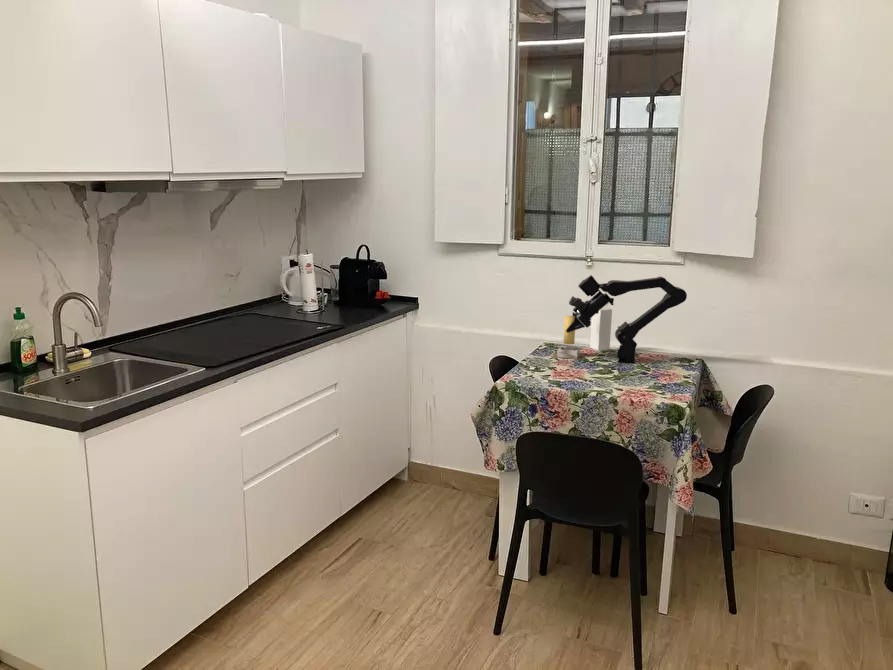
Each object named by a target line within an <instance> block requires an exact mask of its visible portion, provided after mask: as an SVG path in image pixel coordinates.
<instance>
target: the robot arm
mask: <svg viewBox="0 0 893 670" xmlns="http://www.w3.org/2000/svg"><path fill="white" fill-rule="evenodd" d="M578 288H579V289H580V290H581V291H582V292H583V293H584V294H585V295H586V297H591V298H590V299H589V300H586V301H582V299H581V298H579V297H575V296H571V297H570V300H569V301H568V305H570V306H572V307H573V308H572V315H571V316H574V321H573V322H572V323H571V325H570V326H569V327H568V328H567V330H566V332H567V333H568V332H571V331H574V330H575V331H577V330H580V329H583V328H587V329H588V328H589V327H590V326H591V323H592V317H593V316H594V315H595V314H598V313H599V312H598V311H599V310H601V309H602V308H603V307H604V306H605V305H606V304H607V303H608V304H609V305H611V306H614V301H615V298H614V297H618V296H621V295H624V294H626V293H629V292H633V291H634V292H635V291H641V290H650V289H658V288H661V290H663V291H664V292H665V294H664V295H663V296H662V299H661V300H660V301H659V302H657V303H656V304H655V305H653V306H652V307H651V308H649V309H648V310H647V311H645V312H644V313H643V314H642V315H640V316H638V317H637V318H636V319H634V321H631V322H629V323H628V322H627V321H625V320H624V322H622V324H621V325H619V326H617V329H616V330H615V332H614V336H615V339H616V340H617V341H618V342H619V344H620V345H619V348H617V355H616V356H617V357H616V358H617V360H618V361H617V362H618V363H625V364H626V363H629V364H635V362H636V351H637V350H636V347H637V345H638V343H637V342H636V341H635V340H634V338H635V337H636V336H637V334H638V333H639V332H640V331H641V330H642V329H644V328H645V327H646V326H647V325H649V324H650V323H652V322H653V321H654V320H655V319H656V318H658V317H660V316H661V315H662V314H663V313H665V312H666V311H668V310H669V309H672V308H674V307H677V306H679V305H681V304H683V303H684V302H685V301H686V300H687V297H688V295H687V292H686V291H685V290H684V289H683V288H681V287H678V286H675V285H673V284H672V283H670V282H669V281H668V280H667V279H666V278H665V277H663V276H657V277H651V278H643V279H636V280H635V279H634V280H620V279H619V280H615V279H614V280H613V279H611V280H608V282H607V283H599V282H598V281H597V280H596V279H595V277H594V276H593V275H589V276H588V277H586V278H585V279H582V281H581V282H579V284H578ZM603 292H604V293H603ZM607 293H608V294H607ZM609 295H610V296H611V297H610V296H609Z"/></svg>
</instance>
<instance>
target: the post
mask: <svg viewBox="0 0 893 670" xmlns="http://www.w3.org/2000/svg"><path fill="white" fill-rule="evenodd" d="M573 321H574V316H572V315H564V324H563V326H564V327H563V343H562V344H565V345H575V341H576V340H575V339H576V338H575V337H576V330H574V331H571V332H568V333H567V332H566V330H567V328H568V327H569V326H570V325H571V323H572V322H573Z"/></svg>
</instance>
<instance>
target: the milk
mask: <svg viewBox="0 0 893 670" xmlns="http://www.w3.org/2000/svg"><path fill="white" fill-rule="evenodd" d="M598 312H599V313H598V314H595V315H594V316H593V317H592V318H591V325H590V326H591V327H590V344H589V348H590V349H593V350H595V351H607V350H610V349H611V333H612V318H613V317H612V316H613V308H612V307H611V306H610V304H609V302H608V303H607V304H606V305H605V306H604V307H603V308H602V309H601V310H599V311H598Z"/></svg>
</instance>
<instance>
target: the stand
mask: <svg viewBox="0 0 893 670" xmlns="http://www.w3.org/2000/svg"><path fill="white" fill-rule="evenodd" d="M580 349H581V348H580V346H568V345H566V346H565V345H560V346H558V348H557V349H556V351H555V352H554V353H553V355H552V356H551V358H552V359H562V360H576V361H582V360H583V358H584V356H585V353H580V352H581V351H580Z"/></svg>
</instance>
